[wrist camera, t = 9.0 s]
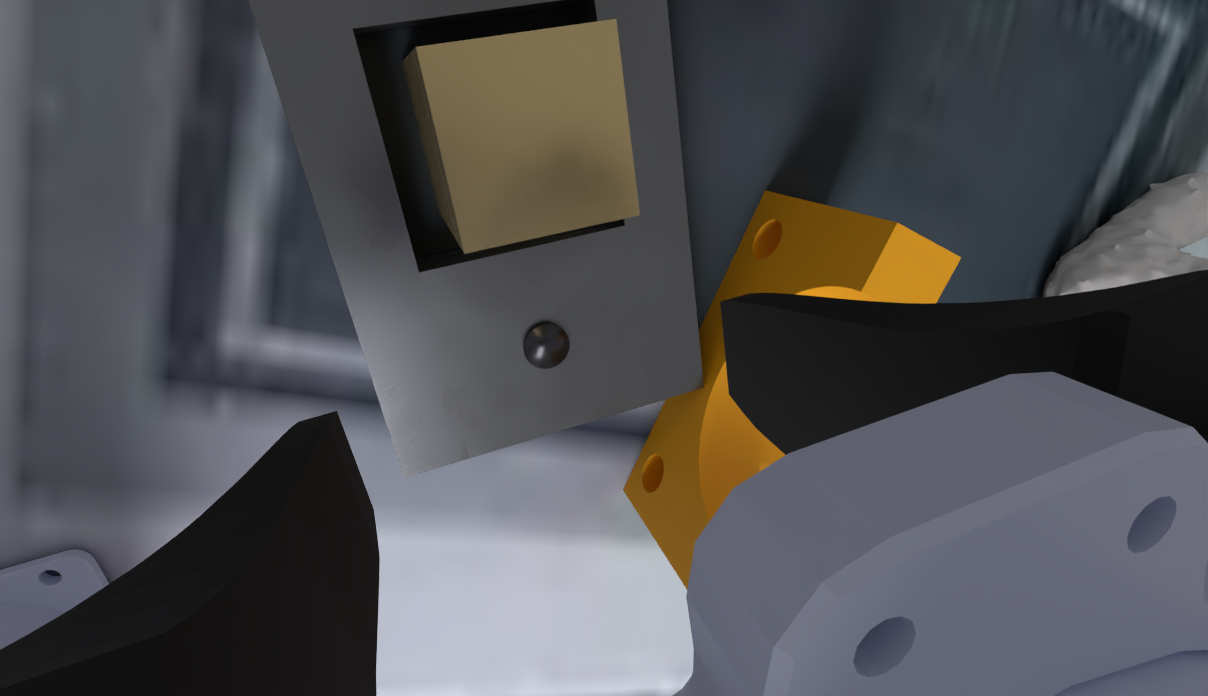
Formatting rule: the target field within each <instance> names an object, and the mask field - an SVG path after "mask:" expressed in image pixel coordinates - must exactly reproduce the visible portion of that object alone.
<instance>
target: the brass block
mask: <svg viewBox="0 0 1208 696" xmlns="http://www.w3.org/2000/svg"><path fill="white" fill-rule="evenodd" d="M402 65H403V69H404V73H405V77H406V81H407V85H408V89H409V93H410V97H411V102H412V106H413V110H414V114H415V118H416V122H417V126H418V130H419V134H420V138H421V142H422V146H423V150H424V155H425V159H426V163H427V167H428V171H429V175H430V179H431V183H432V187H433V191H434V195H435V199H436V204H437V208H438V211H439V212H440V214H441V216H442V217H443V219H444V221H445V222H446V224H447V226H448V227H449V229H450V231H451V232H452V234H453V236H454V237H455V239H456V241H457V242H458V244H459V246H460V247H461V249H462V250H463V252H464V254H466V253H470V252H475V251H480V250H484V249H489V248H493V247H498V246H502V245H507V244H511V243H516V242H520V241H525V240H530V239H534V238H539V237H543V236H548V235H552V234H557V233H561V232H566V231H570V230H575V229H580V228H584V227H589V226H593V225H598V224H602V223H607V222H611V221H616V220H621V219H625V218H630V217H634V216H639V215H640V211H639V203H638V195H637V186H636V178H635V170H634V162H633V153H632V145H631V137H630V128H629V120H628V112H627V104H626V95H625V87H624V79H623V70H622V62H621V54H620V45H619V37H618V29H617V21H616V19H611V20H604V21H597V22H590V23H582V24H575V25H568V26H561V27H554V28H547V29H540V30H533V31H526V32H518V33H511V34H504V35H497V36H490V37H483V38H476V39H469V40H462V41H454V42H447V43H440V44H433V45H426V46H419V47H415V48H414V49H413V50H412V51H411V53H410V54H409V55H408V56H407V57H406V58H405V59H404V60H403V61H402Z"/></svg>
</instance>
